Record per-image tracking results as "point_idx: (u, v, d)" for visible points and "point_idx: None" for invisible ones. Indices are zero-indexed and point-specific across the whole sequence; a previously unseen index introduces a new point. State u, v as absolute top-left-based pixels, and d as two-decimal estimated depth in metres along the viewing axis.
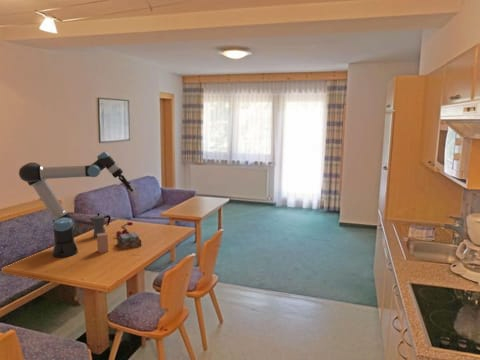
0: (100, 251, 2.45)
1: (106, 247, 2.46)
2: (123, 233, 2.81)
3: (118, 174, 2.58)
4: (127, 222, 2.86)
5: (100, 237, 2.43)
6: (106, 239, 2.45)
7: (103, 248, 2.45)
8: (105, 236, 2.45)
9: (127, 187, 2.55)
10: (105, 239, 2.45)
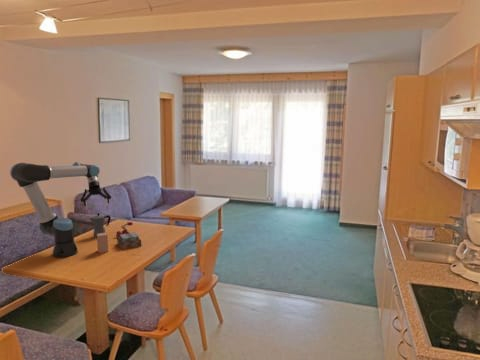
0: (100, 251, 2.45)
1: (106, 247, 2.46)
2: (123, 233, 2.81)
3: (99, 186, 2.66)
4: (127, 222, 2.86)
5: (100, 237, 2.43)
6: (106, 239, 2.45)
7: (103, 248, 2.45)
8: (105, 236, 2.45)
9: (110, 196, 2.63)
10: (105, 239, 2.45)
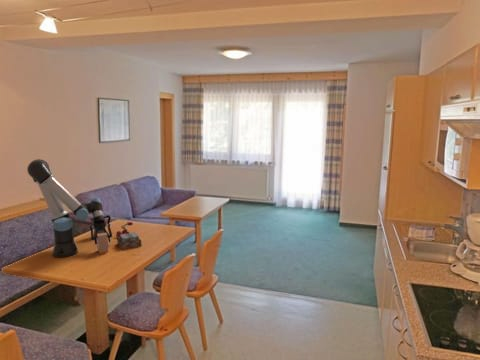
0: (100, 251, 2.45)
1: (106, 247, 2.46)
2: (123, 233, 2.81)
3: None
4: (127, 222, 2.86)
5: (100, 237, 2.43)
6: (106, 239, 2.45)
7: (103, 248, 2.45)
8: (105, 236, 2.45)
9: None
10: (105, 239, 2.45)
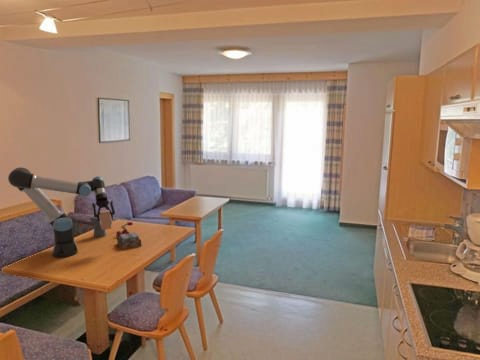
0: (103, 228, 2.44)
1: (108, 224, 2.45)
2: (123, 233, 2.81)
3: None
4: (127, 222, 2.86)
5: (103, 214, 2.43)
6: (108, 216, 2.45)
7: (106, 224, 2.44)
8: (108, 213, 2.44)
9: (114, 212, 2.50)
10: (108, 216, 2.44)
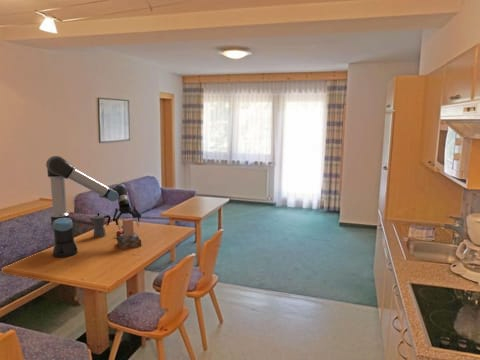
0: (126, 235, 2.56)
1: (131, 231, 2.58)
2: None
3: None
4: None
5: (126, 222, 2.55)
6: (131, 224, 2.57)
7: (129, 232, 2.57)
8: (131, 221, 2.56)
9: (140, 215, 2.65)
10: (131, 224, 2.57)
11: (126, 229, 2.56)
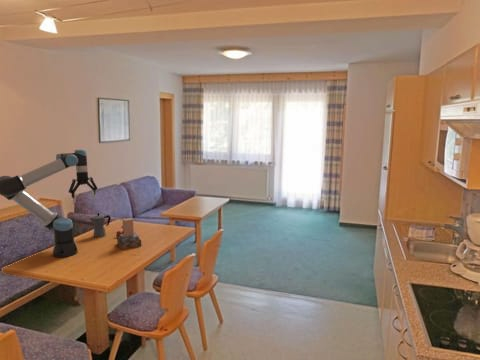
0: (126, 235, 2.56)
1: (131, 231, 2.58)
2: None
3: None
4: None
5: (126, 222, 2.55)
6: (131, 224, 2.57)
7: (129, 232, 2.57)
8: (131, 221, 2.56)
9: (97, 188, 2.66)
10: (131, 224, 2.57)
11: (126, 229, 2.56)
